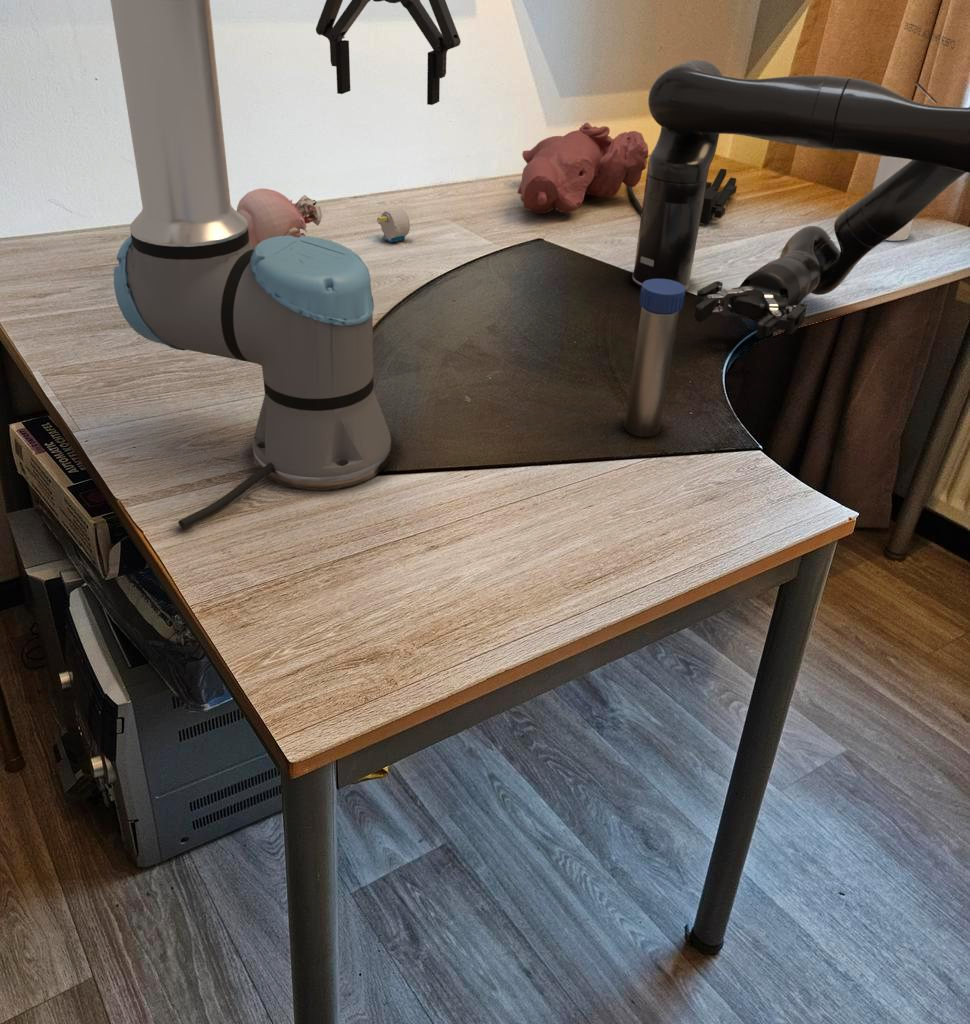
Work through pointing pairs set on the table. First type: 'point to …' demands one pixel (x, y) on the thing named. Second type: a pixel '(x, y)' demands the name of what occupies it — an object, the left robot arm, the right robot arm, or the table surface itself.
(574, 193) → the red clay animal figurine
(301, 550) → the table surface
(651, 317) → the grey metal cylinder
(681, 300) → the lid
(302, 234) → the toy
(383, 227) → the electric motor
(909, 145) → the right robot arm
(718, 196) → the toy
